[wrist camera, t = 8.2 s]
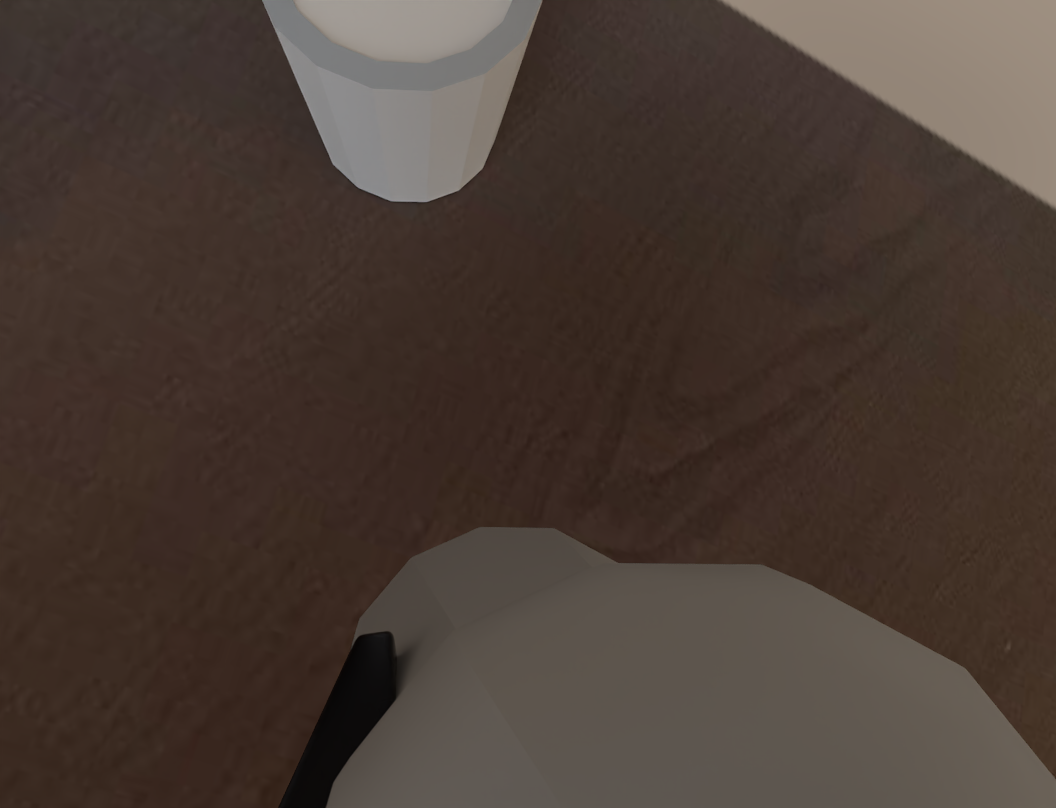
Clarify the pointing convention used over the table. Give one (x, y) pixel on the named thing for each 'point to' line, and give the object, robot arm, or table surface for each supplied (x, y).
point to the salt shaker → (663, 692)
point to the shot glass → (406, 84)
